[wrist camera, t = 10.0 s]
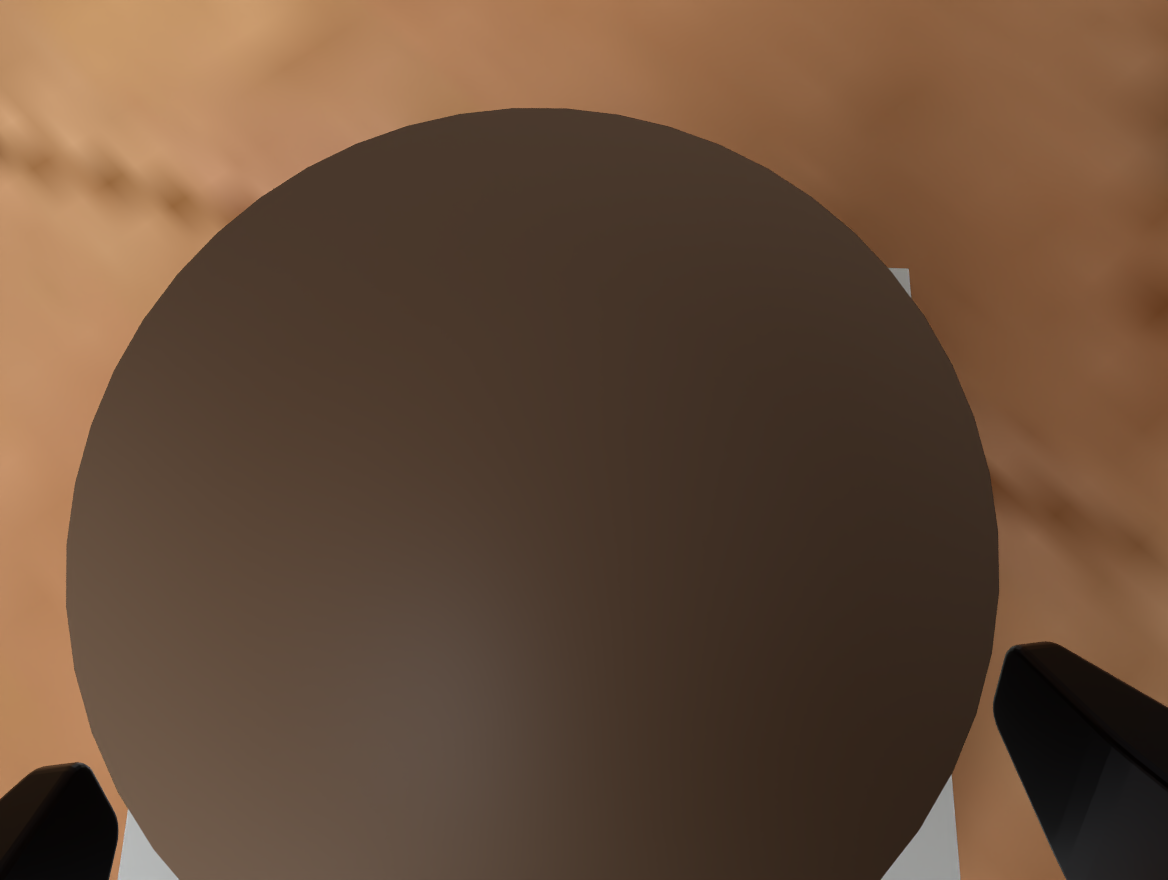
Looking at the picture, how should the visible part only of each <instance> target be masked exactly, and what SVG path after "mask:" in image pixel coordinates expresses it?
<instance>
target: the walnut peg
mask: <svg viewBox="0 0 1168 880" xmlns="http://www.w3.org/2000/svg"><path fill="white" fill-rule="evenodd" d="M998 596H999V563H998V528H997V521H996V514H995V507H994V500H993V493H992V486H991V479H990V473H989V469H988V466H987V462H986V458H985V455H984V451H983V448H982V444H981V440H980V437H979V433H978V429H977V426H976V422H975V419H974V416H973V413H972V411H971V409H970V406H969V404H968V401H967V399H966V397H965V394H964V392H963V389H962V387H961V385H960V382H959V380H958V377H957V375H956V373H955V370H954V368H953V365H952V364H951V362H950V360H949V358H948V357H947V355H946V353H945V351H944V350H943V348H942V346H941V344H940V343H939V341H938V339H937V337H936V336H935V334H934V332H933V330H932V328H931V327H930V325H929V323H928V321H927V320H926V318H925V316H924V315H923V314H922V312H921V311H920V309H919V308H918V307H917V305H916V304H915V303H914V301H913V300H912V299H911V297H910V296H909V295H908V293H907V292H906V291H905V289H904V288H903V287H902V285H901V284H900V283H899V281H898V280H897V279H896V277H895V276H894V275H893V273H892V272H891V271H890V270H889V269H888V268H887V267H886V265H885V264H884V263H883V262H882V261H881V260H880V259H879V258H878V257H877V256H876V255H875V254H874V253H873V252H872V251H871V250H870V249H869V248H868V247H867V245H866V244H865V243H864V242H863V241H862V240H861V239H860V238H859V237H858V236H857V235H856V234H855V233H854V232H853V231H852V230H851V229H849V228H848V227H847V226H846V225H845V224H843V223H842V222H841V221H840V220H839V219H837V218H836V217H835V216H834V215H833V214H831V213H830V212H829V211H828V210H827V209H825V208H824V207H823V206H822V205H821V204H819V203H818V202H817V201H816V200H815V199H813V198H812V197H811V196H809V195H807V194H806V193H804V192H803V191H801V190H800V189H798V188H797V187H795V186H794V185H792V184H791V183H789V182H787V181H786V180H784V179H783V178H781V177H780V176H778V175H777V174H775V173H774V172H772V171H770V170H769V169H767V168H765V167H763V166H761V165H759V164H757V163H755V162H753V161H751V160H749V159H747V158H745V157H743V156H741V155H739V154H737V153H735V152H733V151H731V150H729V149H727V148H725V147H723V146H721V145H719V144H716V143H713V142H710V141H708V140H705V139H702V138H699V137H697V136H694V135H691V134H688V133H685V132H683V131H680V130H677V129H674V128H671V127H668V126H664V125H660V124H655V123H651V122H647V121H643V120H638V119H634V118H630V117H626V116H621V115H616V114H608V113H599V112H591V111H582V110H574V109H552V108H511V109H502V110H493V111H484V112H475V113H466V114H458V115H454V116H449V117H445V118H441V119H436V120H432V121H427V122H423V123H418V124H414V125H410V126H406V127H403V128H400V129H397V130H395V131H392V132H389V133H386V134H383V135H380V136H377V137H375V138H372V139H369V140H366V141H363V142H360V143H358V144H355V145H353V146H351V147H349V148H347V149H345V150H343V151H341V152H339V153H337V154H335V155H332V156H330V157H328V158H326V159H324V160H322V161H320V162H318V163H316V164H314V165H312V166H310V167H308V168H306V169H304V170H303V171H301V172H300V173H298V174H297V175H295V176H294V177H292V178H290V179H289V180H287V181H286V182H284V183H283V184H281V185H279V186H278V187H276V188H275V189H273V190H272V191H270V192H268V193H267V194H265V195H264V196H262V197H261V198H259V199H258V200H257V201H256V202H255V203H253V204H252V205H251V206H250V207H248V208H247V209H246V210H245V211H244V212H242V213H241V214H240V215H239V216H237V217H236V218H235V219H234V220H233V221H231V222H230V223H229V224H228V225H226V226H225V227H224V228H223V229H222V230H220V231H219V232H218V233H217V234H216V235H215V236H214V237H213V238H212V239H211V240H210V241H209V242H208V243H207V244H206V245H205V246H204V247H203V248H202V249H201V250H200V251H199V252H198V254H197V255H196V256H195V257H194V258H193V259H192V260H191V261H190V262H189V263H188V264H187V265H186V266H185V267H184V268H183V269H182V270H181V271H180V272H179V273H178V274H177V276H176V277H175V278H174V280H173V281H172V282H171V284H170V285H169V286H168V288H167V289H166V290H165V292H164V293H163V294H162V296H161V297H160V298H159V300H158V301H157V302H156V304H155V305H154V306H153V308H152V309H151V310H150V312H149V313H148V314H147V316H146V317H145V318H144V320H143V321H142V323H141V325H140V326H139V328H138V330H137V332H136V333H135V335H134V337H133V339H132V340H131V342H130V344H129V346H128V347H127V349H126V351H125V353H124V354H123V356H122V358H121V359H120V361H119V363H118V365H117V366H116V368H115V370H114V372H113V374H112V377H111V379H110V382H109V384H108V386H107V389H106V391H105V394H104V396H103V398H102V401H101V403H100V405H99V408H98V410H97V413H96V415H95V417H94V420H93V422H92V425H91V428H90V431H89V435H88V439H87V442H86V446H85V450H84V453H83V457H82V460H81V464H80V468H79V471H78V475H77V478H76V482H75V488H74V495H73V502H72V509H71V517H70V524H69V531H68V538H67V565H66V609H67V616H68V624H69V631H70V639H71V647H72V654H73V662H74V669H75V673H76V677H77V681H78V684H79V688H80V691H81V695H82V699H83V702H84V706H85V709H86V713H87V717H88V720H89V724H90V728H91V731H92V734H93V736H94V738H95V741H96V743H97V745H98V748H99V750H100V752H101V754H102V757H103V759H104V761H105V764H106V766H107V768H108V771H109V773H110V775H111V777H112V780H113V782H114V784H115V787H116V789H117V791H118V793H119V795H120V796H121V798H122V800H123V801H124V803H125V804H126V806H127V808H128V809H129V811H130V812H131V814H132V816H133V817H134V819H135V821H136V822H137V824H138V825H139V827H140V829H141V830H142V832H143V833H144V835H145V837H146V838H147V840H148V841H149V843H150V845H151V846H152V848H153V849H154V851H155V852H156V853H157V854H158V855H159V856H160V858H161V859H162V860H163V861H164V862H165V864H166V865H167V866H168V867H169V868H170V869H171V871H172V872H173V873H174V874H175V875H176V877H177V878H178V879H179V880H881V879H882V877H883V876H884V875H885V873H886V872H887V871H888V870H889V868H890V867H891V866H892V865H893V863H894V862H895V861H896V859H897V858H898V857H899V856H900V854H901V853H902V852H903V850H904V849H905V848H906V847H907V845H908V844H909V843H910V841H911V840H912V839H913V838H914V836H915V835H916V834H917V832H918V831H919V830H920V828H921V826H922V825H923V823H924V821H925V819H926V818H927V816H928V814H929V813H930V811H931V809H932V807H933V806H934V804H935V802H936V800H937V799H938V797H939V795H940V794H941V792H942V790H943V788H944V787H945V785H946V783H947V781H948V780H949V778H950V776H951V774H952V772H953V770H954V767H955V765H956V763H957V760H958V758H959V755H960V753H961V750H962V748H963V745H964V743H965V740H966V738H967V735H968V733H969V731H970V728H971V726H972V723H973V721H974V718H975V716H976V713H977V709H978V705H979V701H980V697H981V693H982V689H983V685H984V682H985V678H986V674H987V670H988V666H989V662H990V658H991V654H992V647H993V638H994V630H995V621H996V613H997V604H998Z"/></svg>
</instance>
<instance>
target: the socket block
mask: <svg viewBox="0 0 1168 880" xmlns="http://www.w3.org/2000/svg"><path fill="white" fill-rule="evenodd" d="M888 269H889V270H890V271H891V272H892V273H893V275H894V276H895V277H896V279H897V280H898V281H899V283H900V284H901V285H902V287H903V288H904V289H905V291H906V292H907V293H908V295H909V296H910V297H911V290H910V278H909V269H905V268H888ZM118 880H179V879H178V878H177V877H176V875H175V874H174V873H173V872H172V871H171V869H170V868H169V867H168V866H167V865H166V864H165V862H164V861H163V860H162V859H161V858H160V856H159V855H158V854H157V853H156V852H155V851H154V849H153V848H152V846H151V845H150V843H149V841H148V840H147V838H146V837H145V835H144V833H143V832H142V830H141V829H140V827H139V825H138V824H137V822H136V821H135V819H134V817H133V816H132V814H131V812H130V811H129V809H128V814H127V821H126V827H125V834H124V841H123V848H122V854H121V861H120V868H119V874H118ZM881 880H960V868H959V856H958V844H957V833H956V821H955V809H954V797H953V785H952V774H951V776H950V778H949V780H948V781H947V783H946V785H945V787H944V788H943V790H942V792H941V794H940V795H939V797H938V799H937V800H936V802H935V804H934V806H933V807H932V809H931V811H930V813H929V814H928V816H927V818H926V819H925V821H924V823H923V825H922V826H921V828H920V830H919V831H918V832H917V834H916V835H915V836H914V838H913V839H912V840H911V841H910V843H909V844H908V845H907V847H906V848H905V849H904V850H903V852H902V853H901V854H900V856H899V857H898V858H897V859H896V861H895V862H894V863H893V865H892V866H891V867H890V868H889V870H888V871H887V872H886V873H885V875H884V876H883V877H882V879H881Z"/></svg>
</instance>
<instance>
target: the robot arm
mask: <svg viewBox="0 0 1168 880" xmlns="http://www.w3.org/2000/svg"><path fill="white" fill-rule="evenodd" d="M993 713H994V719H995V722H996V725H997V728H998V730H999V733H1000V735H1001V737H1002V739H1003V742H1004V744H1005V746H1006V748H1007V750H1008V753H1009V755H1010V757H1011V759H1012V762H1013V764H1014V766H1015V768H1016V771H1017V773H1018V775H1019V777H1020V780H1021V782H1022V784H1023V786H1024V789H1025V791H1026V793H1027V795H1028V798H1029V800H1030V802H1031V804H1032V806H1033V809H1034V811H1035V813H1036V815H1037V818H1038V820H1039V822H1040V824H1041V827H1042V829H1043V831H1044V833H1045V836H1046V838H1047V840H1048V842H1049V845H1050V847H1051V849H1052V851H1053V853H1054V855H1055V857H1056V859H1057V862H1058V864H1059V866H1060V868H1061V870H1062V872H1063V874H1064V876H1065V878H1066V880H1168V707H1166V706H1164V705H1163V704H1161V703H1159V702H1158V701H1156V700H1154V699H1152V698H1151V697H1149V696H1147V695H1145V694H1144V693H1142V692H1140V691H1139V690H1137V689H1135V688H1133V687H1132V686H1130V685H1128V684H1126V683H1125V682H1123V681H1121V680H1119V679H1118V678H1116V677H1114V676H1113V675H1111V674H1109V673H1107V672H1106V671H1104V670H1102V669H1100V668H1099V667H1097V666H1095V665H1094V664H1092V663H1090V662H1088V661H1087V660H1085V659H1083V658H1081V657H1080V656H1078V655H1076V654H1074V653H1073V652H1071V651H1069V650H1068V649H1066V648H1064V647H1062V646H1060V645H1058V644H1056V643H1053V642H1037V643H1029V644H1021V645H1015V646H1012V647H1011V648H1010V649H1009V650H1008V651H1007V653H1006V655H1005V658H1004V662H1003V666H1002V670H1001V674H1000V677H999V681H998V685H997V689H996V693H995V697H994V701H993ZM117 841H118V822H117V817H116V814H115V812H114V810H113V808H112V806H111V805H110V803H109V801H108V799H107V797H106V795H105V794H104V792H103V790H102V788H101V786H100V784H99V782H98V781H97V779H96V777H95V775H94V773H93V771H92V770H91V769H90V767H88V766H87V765H85V764H84V763H79V762H75V763H67V764H59V765H51V766H44V767H41V768H38V769H36V770H34V771H32V772H31V773H30V774H28V775H27V776H26V777H25V778H23V779H22V780H21V781H20V782H19V783H18V784H17V785H15V786H14V787H13V788H12V789H11V790H10V791H9V792H8V793H6V794H5V795H4V796H3V797H2V798H1V799H0V880H109V877H110V873H111V868H112V864H113V859H114V855H115V851H116V846H117Z"/></svg>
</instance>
